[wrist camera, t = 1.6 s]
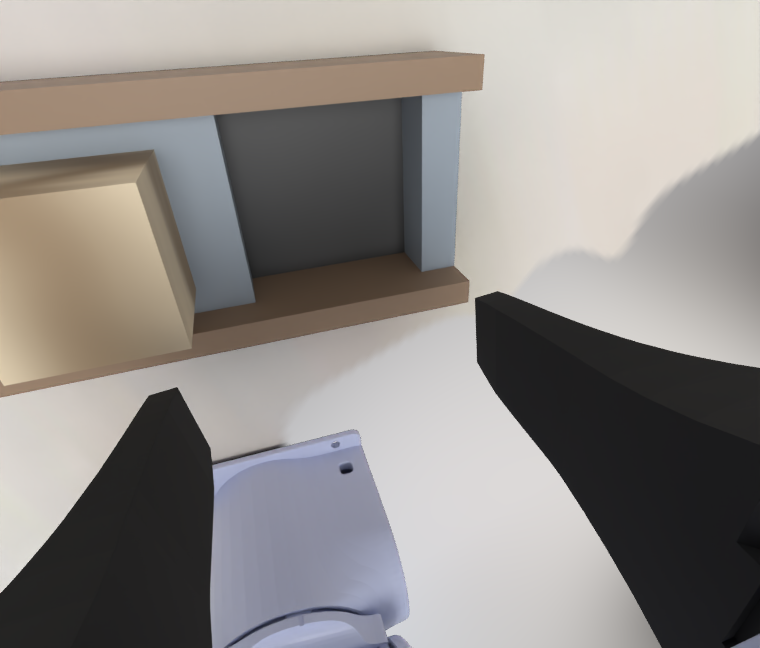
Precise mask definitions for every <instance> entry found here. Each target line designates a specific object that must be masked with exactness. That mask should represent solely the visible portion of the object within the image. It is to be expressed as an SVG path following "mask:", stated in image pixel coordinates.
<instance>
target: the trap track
mask: <svg viewBox="0 0 760 648" xmlns="http://www.w3.org/2000/svg"><path fill="white" fill-rule="evenodd" d="M483 69H484V54H472V53H458V52H444V51H426V52H412V53H398V54H384V55H370V56H356V57H342V58H328V59H314V60H300V61H286V62H272V63H258V64H244V65H230V66H216V67H202V68H188V69H174V70H160V71H146V72H132V73H118V74H104V75H90V76H76V77H62V78H48V79H34V80H20V81H6V82H0V166H2V165H11V164H21V163H30V162H39V161H49V160H58V159H68V158H77V157H86V156H96V155H105V154H115V153H124V152H133V151H143V150H152V149H154V152H155V155H156V158H157V162H158V165H159V168H160V172H161V175H162V178H163V181H164V185H165V188H166V191H167V195H168V198H169V201H170V205H171V208H172V211H173V214H174V218H175V221H176V224H177V228H178V231H179V234H180V238H181V241H182V244H183V247H184V251H185V254H186V257H187V261H188V264H189V267H190V271H191V274H192V277H193V280H194V284H195V287H196V298H195V311H194V324H193V337H192V349H187V350H182V351H177V352H172V353H167V354H162V355H157V356H152V357H147V358H142V359H137V360H132V361H127V362H122V363H117V364H112V365H107V366H102V367H97V368H92V369H87V370H82V371H77V372H72V373H67V374H62V375H57V376H52V377H47V378H42V379H37V380H32V381H27V382H22V383H17V384H12V385H7V386H4V385H3V384H2V382H1V381H0V397H5V396H10V395H15V394H20V393H25V392H30V391H35V390H39V389H44V388H49V387H54V386H59V385H64V384H69V383H74V382H79V381H84V380H88V379H93V378H98V377H103V376H108V375H113V374H118V373H123V372H128V371H133V370H138V369H142V368H147V367H152V366H157V365H162V364H167V363H172V362H177V361H182V360H187V359H191V358H196V357H201V356H206V355H211V354H216V353H221V352H226V351H231V350H236V349H240V348H245V347H250V346H255V345H260V344H265V343H270V342H275V341H280V340H285V339H290V338H294V337H299V336H304V335H309V334H314V333H319V332H324V331H329V330H334V329H339V328H343V327H348V326H353V325H358V324H363V323H368V322H373V321H378V320H383V319H388V318H393V317H397V316H402V315H407V314H412V313H417V312H422V311H427V310H432V309H437V308H442V307H446V306H451V305H456V304H461V303H466V302H468V296H469V280H468V279H467V278H466V277H465V276H464V275H463V274H462V273H461V272H460V271H459V270H458V269H457V268H456V267H455V266H454V255H455V233H456V210H457V188H458V165H459V143H460V120H461V98H462V92H465V91H476V90H482V84H483Z"/></svg>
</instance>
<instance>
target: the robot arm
mask: <svg viewBox="0 0 760 648" xmlns="http://www.w3.org/2000/svg"><path fill="white" fill-rule="evenodd" d="M475 310H476V338H477V339H476V340H477V362H478V364H479V366H480V368H481V369H482V371H483V373H484V375H485V376H486V378H487V380H488V381H489V383H490V385H491V386H492V388H493V390H494V391H495V393H496V394H497V395H498V397H499V398H500V400H501V401H502V402H503V403H504V405H505V406H506V407H507V408H508V410H509V411H510V412H511V414H512V415H513V416H514V417H515V419H516V420H517V421H518V422H519V423H520V425H521V426H522V427H523V429H524V430H525V431H526V432H527V433H528V435H529V436H530V437H531V438H532V440H533V441H534V442H535V443H536V445H537V446H538V447H539V448H540V450H541V451H542V452H543V453H544V455H545V456H546V457H547V458H548V459H549V461H550V462H551V464H552V465H553V466H554V468H555V469H556V470H557V472H558V473H559V474H560V476H561V477H562V479H563V480H564V482H565V483H566V485H567V486H568V488H569V490H570V491H571V492H572V494H573V496H574V497H575V499H576V500H577V502H578V503H579V505H580V507H581V508H582V510H583V511H584V512H585V514H586V516H587V518H588V519H589V521H590V523H591V524H592V526H593V527H594V529H595V531H596V532H597V534H598V536H599V537H600V538H601V541H602V542H603V544H604V545H605V547H606V549H607V550H608V552H609V554H610V556H611V557H612V559H613V561H614V562H615V564H616V566H617V568H618V569H619V571H620V573H621V575H622V576H623V578H624V580H625V581H626V583H627V585H628V586H629V588H630V590H631V592H632V594H633V595H634V597H635V599H636V601H637V603H638V604H639V606H640V608H641V610H642V612H643V614H644V616H645V618H646V619H647V621H648V623H649V625H650V627H651V629H652V630H653V632H654V634H655V636H656V638H657V640H658V642H659V643H660V645H661V647H662V648H760V368H756V367H750V366H744V365H736V364H731V363H726V362H721V361H715V360H711V359H705V358H700V357H695V356H690V355H685V354H681V353H677V352H673V351H669V350H665V349H661V348H657V347H653V346H650V345H646V344H642V343H638V342H635V341H632V340H628V339H625V338H621V337H619V336H616V335H613V334H610V333H607V332H604V331H600V330H597V329H595V328H592V327H589V326H586V325H583V324H581V323H578V322H575V321H573V320H570V319H568V318H565V317H562V316H560V315H557V314H555V313H552V312H550V311H547V310H545V309H542V308H540V307H537V306H535V305H532V304H530V303H527V302H525V301H522V300H520V299H517V298H515V297H512V296H510V295H507V294H504V293H501V292H498V291H497V292H494V293H491V294H487V295H484V296H481V297H477V298H475ZM335 441H337V442H336V443H333V442H335ZM408 617H409V600H408V593H407V588H406V582H405V577H404V573H403V569H402V565H401V561H400V557H399V554H398V550H397V546H396V543H395V540H394V536H393V533H392V530H391V527H390V524H389V521H388V518H387V516H386V513H385V510H384V507H383V505H382V502H381V499H380V496H379V493H378V490H377V487H376V485H375V482H374V479H373V476H372V473H371V471H370V468H369V465H368V462H367V459H366V457H365V454H364V451H363V448H362V446H361V437H360V435H359V432H358V431H357V430H348V431H344V432H340V433H337V434H333V435H329V436H325V437H321V438H317V439H313V440H309V441H305V442H301V443H297V444H293V445H289V446H285V447H281V448H277V449H274V450H270V451H266V452H262V453H258V454H254V455H250V456H246V457H242V458H238V459H234V460H230V461H227V462H223V463H219V464H215V465H212V459H211V449H210V447H209V445H208V443H207V441H206V439H205V438H204V436H203V434H202V432H201V430H200V428H199V426H198V425H197V423H196V421H195V419H194V417H193V415H192V414H191V412H190V410H189V408H188V406H187V404H186V403H185V401H184V399H183V397H182V395H181V393H180V391H179V390H178V388H177V387H176V388H173V389H170V390H166V391H163V392H160V393H156V394H153V395H150V396H148V398H147V399H146V401H145V402H144V404H143V405H142V407H141V408H140V410H139V411H138V413H137V414H136V416H135V417H134V419H133V421H132V422H131V424H130V425H129V427H128V428H127V430H126V431H125V433H124V435H123V436H122V438H121V439H120V441H119V442H118V444H117V445H116V447H115V448H114V450H113V451H112V453H111V454H110V456H109V457H108V459H107V460H106V462H105V463H104V465H103V466H102V468H101V469H100V471H99V472H98V474H97V475H96V476H95V478H94V479H93V480H92V482H91V483H90V484H89V486H88V487H87V489H86V490H85V491H84V493H83V494H82V495H81V497H80V498H79V499H78V501H77V502H76V504H75V505H74V506H73V508H72V509H71V510H70V512H69V513H68V514H67V516H66V517H65V519H64V520H63V521H62V522H61V524H60V525H59V526H58V527H57V529H56V530H55V531H54V532H53V534H52V535H51V536H50V537H49V539H48V540H47V541H46V542H45V543H44V545H43V546H42V547H41V548H40V549H39V551H38V552H37V553H36V554H35V555H34V556H33V558H32V559H31V560H30V561H29V562H28V563H27V565H26V566H25V567H24V568H23V569H22V570H21V572H20V573H19V574H18V575H17V576H16V577H15V578H14V579H13V580H12V582H11V583H10V584H9V585H8V586H7V587H6V588H5V589H4V590H3V591H2V592H1V593H0V648H412V647H411V646H410V645H409V644H408V643H407V641H405V640H404V639H403V638H402V637H401V636H398V635H393V636H390V637H387V635H386V632H385V630H387V629H389V628H390V627H392V626H394V625H396V624H398V623H400V622H402V621H404V620H406V619H407V618H408Z"/></svg>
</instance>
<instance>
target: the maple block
mask: <svg viewBox="0 0 760 648" xmlns="http://www.w3.org/2000/svg"><path fill="white" fill-rule="evenodd" d="M195 298H196V287H195V284H194V280H193V277H192V274H191V271H190V267H189V264H188V261H187V257H186V254H185V251H184V247H183V244H182V241H181V238H180V234H179V231H178V228H177V224H176V221H175V218H174V214H173V211H172V208H171V205H170V201H169V198H168V195H167V191H166V188H165V185H164V181H163V178H162V175H161V172H160V168H159V165H158V162H157V158H156V155H155V152H154V149H152V150H143V151H133V152H124V153H115V154H105V155H96V156H86V157H77V158H68V159H58V160H49V161H39V162H30V163H21V164H11V165H2V166H0V381H1V382H2V384H3V385H4V386H7V385H12V384H17V383H22V382H27V381H32V380H37V379H42V378H47V377H52V376H57V375H62V374H67V373H72V372H77V371H82V370H87V369H92V368H97V367H102V366H107V365H112V364H117V363H122V362H127V361H132V360H137V359H142V358H147V357H152V356H157V355H162V354H167V353H172V352H177V351H182V350H187V349H192V337H193V324H194V311H195Z"/></svg>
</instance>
